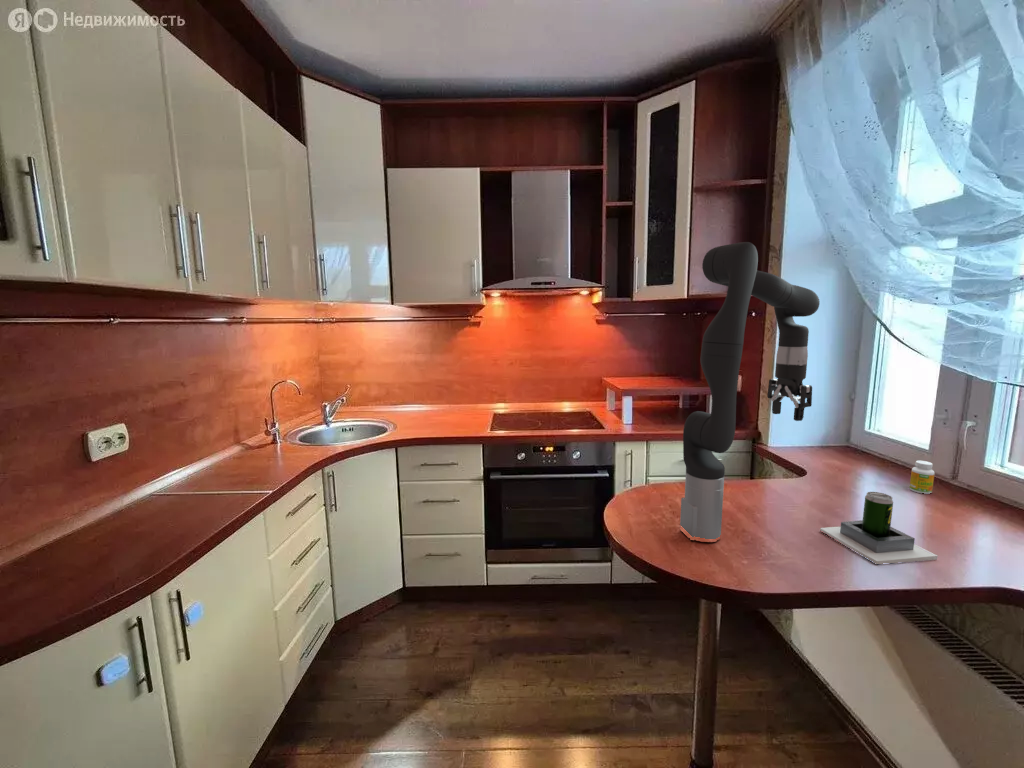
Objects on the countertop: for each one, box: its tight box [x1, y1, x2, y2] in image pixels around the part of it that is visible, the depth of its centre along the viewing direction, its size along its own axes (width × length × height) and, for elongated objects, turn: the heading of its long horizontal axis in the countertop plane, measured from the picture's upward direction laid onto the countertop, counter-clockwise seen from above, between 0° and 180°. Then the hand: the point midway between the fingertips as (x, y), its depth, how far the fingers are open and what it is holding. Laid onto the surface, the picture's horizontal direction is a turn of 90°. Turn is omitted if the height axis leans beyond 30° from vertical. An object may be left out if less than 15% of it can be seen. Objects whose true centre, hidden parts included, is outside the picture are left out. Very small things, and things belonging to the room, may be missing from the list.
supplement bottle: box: [908, 460, 935, 495], centre depth 139 cm, size 5×5×10 cm
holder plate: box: [819, 525, 939, 564], centre depth 108 cm, size 16×16×1 cm
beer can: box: [862, 491, 894, 538], centre depth 107 cm, size 5×5×12 cm
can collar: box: [840, 519, 915, 553], centre depth 108 cm, size 10×10×3 cm
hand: (786, 417), depth 126 cm, fingers open, 8 cm apart
